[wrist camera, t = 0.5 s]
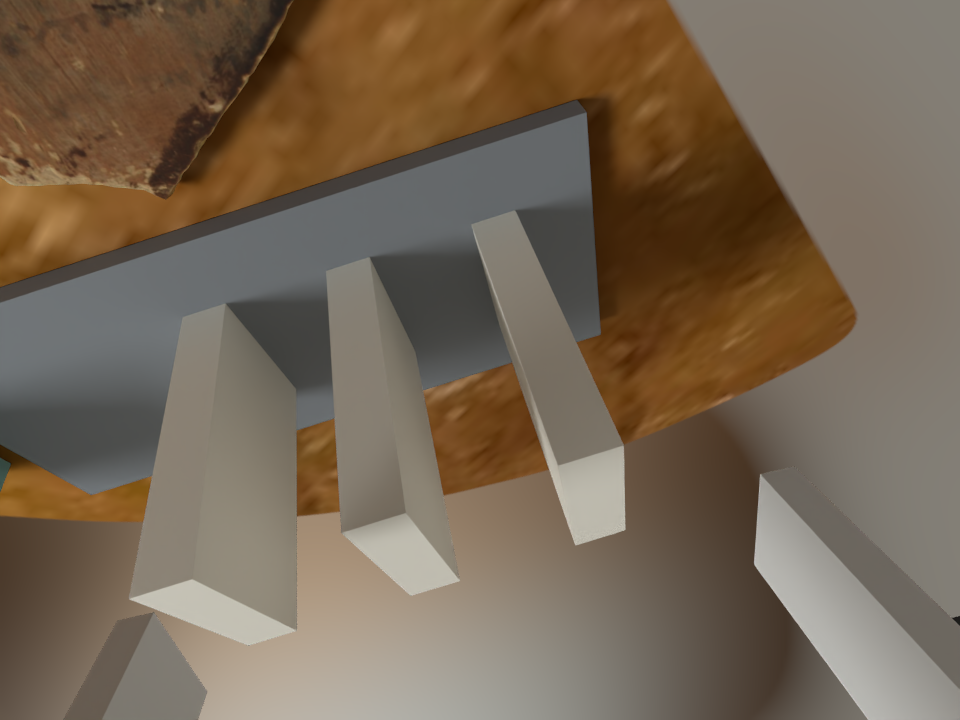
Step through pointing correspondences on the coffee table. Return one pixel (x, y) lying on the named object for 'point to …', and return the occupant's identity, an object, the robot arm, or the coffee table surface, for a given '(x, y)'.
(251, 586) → the ivory domino
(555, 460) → the ivory domino
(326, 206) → the slate runway
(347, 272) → the ivory domino
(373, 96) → the coffee table surface
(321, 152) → the coffee table surface
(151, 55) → the shard
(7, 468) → the teal domino
